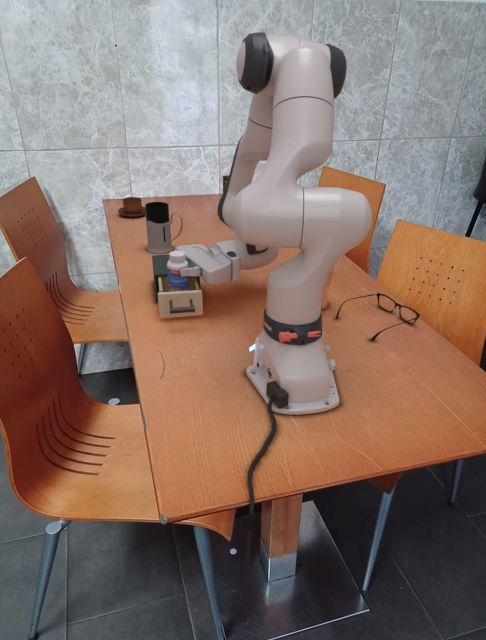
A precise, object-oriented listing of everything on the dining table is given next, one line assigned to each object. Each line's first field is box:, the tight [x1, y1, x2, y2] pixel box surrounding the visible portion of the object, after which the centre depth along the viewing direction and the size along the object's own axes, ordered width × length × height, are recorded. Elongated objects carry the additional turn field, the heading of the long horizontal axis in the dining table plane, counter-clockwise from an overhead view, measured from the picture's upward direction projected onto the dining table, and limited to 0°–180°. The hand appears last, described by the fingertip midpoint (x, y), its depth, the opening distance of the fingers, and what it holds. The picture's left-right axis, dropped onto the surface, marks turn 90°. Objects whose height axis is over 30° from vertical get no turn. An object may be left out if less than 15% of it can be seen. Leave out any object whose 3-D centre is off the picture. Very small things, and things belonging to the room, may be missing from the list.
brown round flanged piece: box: [117, 196, 146, 218], centre depth 202 cm, size 12×12×6 cm
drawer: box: [157, 276, 204, 319], centre depth 129 cm, size 19×11×7 cm, turn 11°
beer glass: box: [321, 266, 335, 310], centre depth 133 cm, size 7×7×15 cm
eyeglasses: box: [335, 292, 421, 341], centre depth 128 cm, size 16×16×4 cm
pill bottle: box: [167, 250, 189, 292], centre depth 127 cm, size 6×5×10 cm
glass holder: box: [144, 201, 184, 254], centre depth 166 cm, size 9×14×15 cm, turn 62°
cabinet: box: [151, 254, 201, 303], centre depth 141 cm, size 14×12×8 cm
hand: (174, 268), depth 126 cm, fingers closed on pill bottle, 5 cm apart
